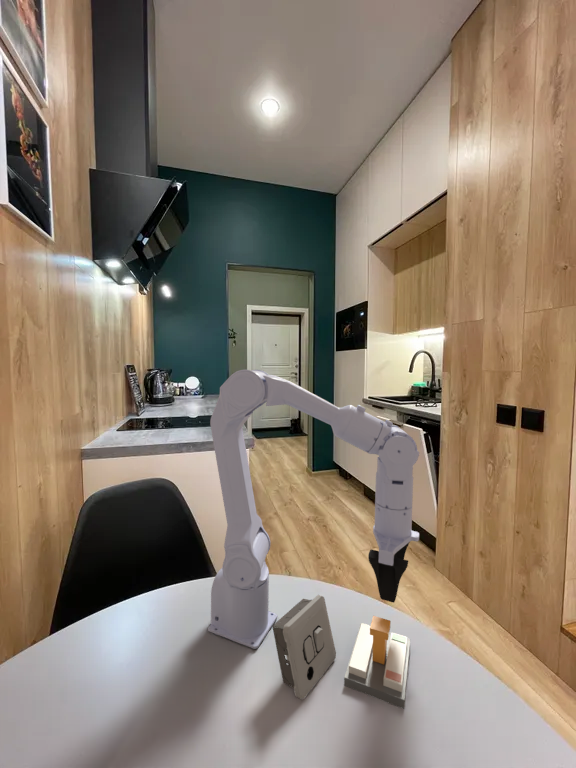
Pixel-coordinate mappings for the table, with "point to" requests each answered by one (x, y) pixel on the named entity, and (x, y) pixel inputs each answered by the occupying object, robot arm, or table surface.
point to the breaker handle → (379, 638)
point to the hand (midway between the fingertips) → (391, 585)
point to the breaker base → (379, 668)
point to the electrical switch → (304, 644)
